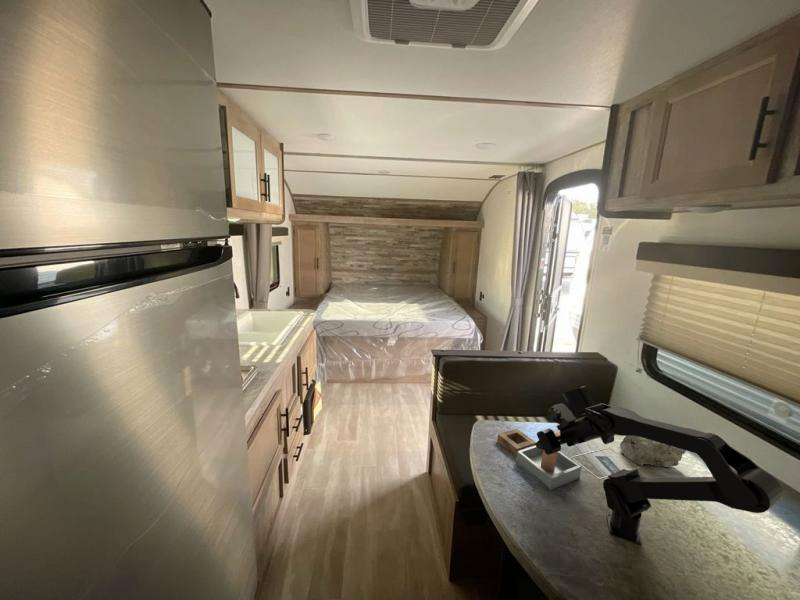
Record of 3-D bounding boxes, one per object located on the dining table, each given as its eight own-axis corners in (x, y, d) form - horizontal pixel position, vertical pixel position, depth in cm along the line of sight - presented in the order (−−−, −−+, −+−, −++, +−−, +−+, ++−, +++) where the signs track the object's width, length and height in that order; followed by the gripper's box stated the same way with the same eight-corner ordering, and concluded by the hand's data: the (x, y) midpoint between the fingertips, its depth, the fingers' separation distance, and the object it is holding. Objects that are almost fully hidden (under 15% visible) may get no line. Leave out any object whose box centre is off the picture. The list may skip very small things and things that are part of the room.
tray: (579, 478, 97) (581, 466, 97) (549, 490, 92) (551, 478, 91) (544, 452, 109) (545, 441, 108) (516, 462, 103) (517, 451, 103)
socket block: (535, 450, 110) (536, 442, 109) (516, 456, 106) (517, 448, 105) (516, 435, 118) (516, 428, 117) (497, 441, 114) (498, 433, 113)
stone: (697, 459, 99) (652, 451, 98) (669, 477, 106) (627, 470, 105) (677, 431, 107) (636, 423, 106) (652, 450, 114) (613, 443, 113)
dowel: (554, 474, 98) (560, 439, 95) (540, 469, 99) (546, 435, 97) (554, 465, 101) (560, 432, 99) (540, 461, 103) (546, 428, 100)
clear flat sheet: (570, 456, 107) (609, 447, 113) (570, 458, 107) (609, 448, 113) (599, 479, 97) (639, 467, 103) (599, 480, 97) (639, 468, 103)
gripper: (590, 395, 96) (554, 411, 108) (546, 406, 88) (512, 422, 100) (612, 433, 91) (572, 445, 102) (567, 449, 83) (529, 460, 94)
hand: (546, 442), depth 100 cm, fingers open, 9 cm apart
